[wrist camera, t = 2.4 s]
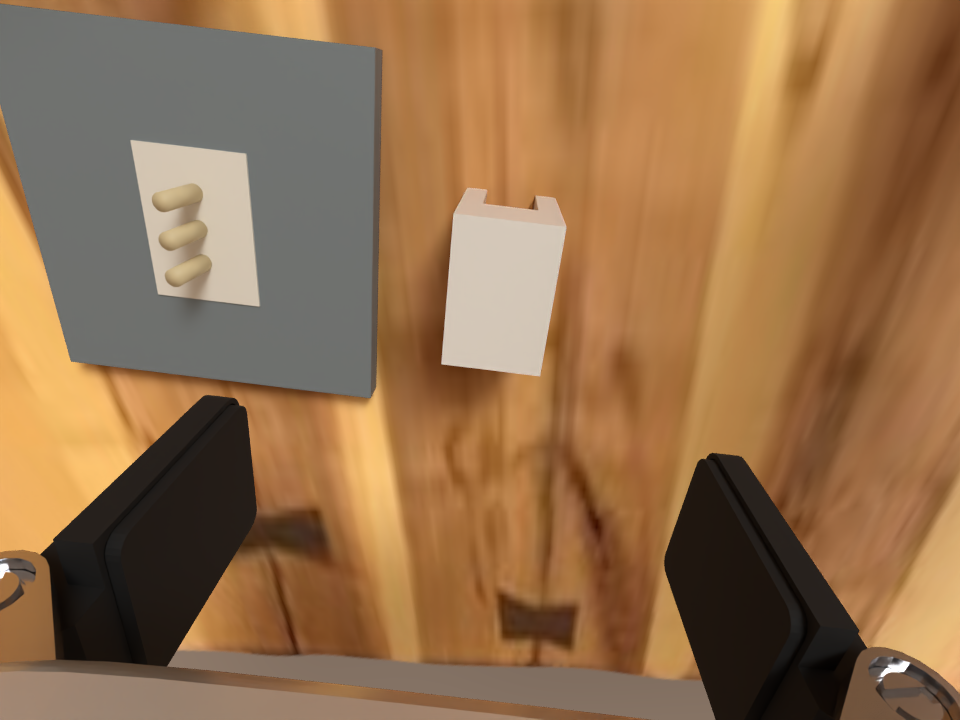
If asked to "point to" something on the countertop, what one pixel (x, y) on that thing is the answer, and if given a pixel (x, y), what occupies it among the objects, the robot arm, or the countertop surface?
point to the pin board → (201, 195)
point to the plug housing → (501, 283)
